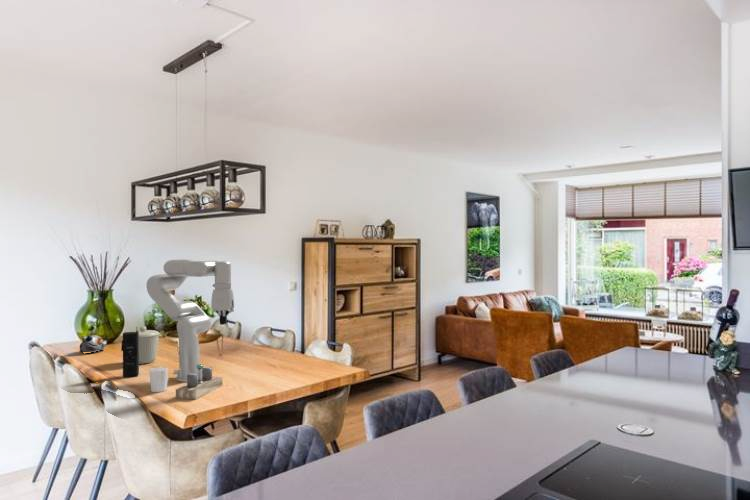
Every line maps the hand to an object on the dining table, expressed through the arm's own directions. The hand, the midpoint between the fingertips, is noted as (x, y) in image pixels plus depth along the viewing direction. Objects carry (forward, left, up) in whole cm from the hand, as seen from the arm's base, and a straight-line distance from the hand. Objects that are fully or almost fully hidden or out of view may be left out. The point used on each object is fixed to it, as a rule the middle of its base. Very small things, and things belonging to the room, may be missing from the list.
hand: (223, 324), depth 236 cm
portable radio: (-56, +4, -29) cm, 63 cm away
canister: (-70, +32, -29) cm, 82 cm away
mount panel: (-4, -14, -29) cm, 33 cm away
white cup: (-24, -16, -29) cm, 41 cm away
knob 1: (-4, -20, -29) cm, 35 cm away
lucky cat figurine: (-121, +51, -29) cm, 135 cm away
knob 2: (-4, -8, -29) cm, 30 cm away
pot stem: (-4, -14, -25) cm, 29 cm away
